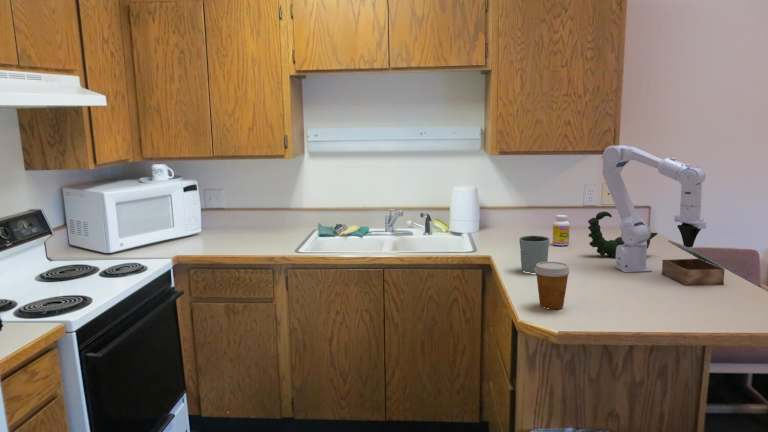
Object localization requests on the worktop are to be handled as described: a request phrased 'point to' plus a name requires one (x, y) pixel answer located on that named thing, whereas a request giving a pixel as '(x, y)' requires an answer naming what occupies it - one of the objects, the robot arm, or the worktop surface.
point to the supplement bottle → (561, 230)
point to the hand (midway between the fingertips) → (688, 246)
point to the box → (693, 272)
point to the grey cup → (533, 251)
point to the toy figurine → (600, 242)
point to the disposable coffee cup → (552, 283)
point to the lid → (696, 254)
